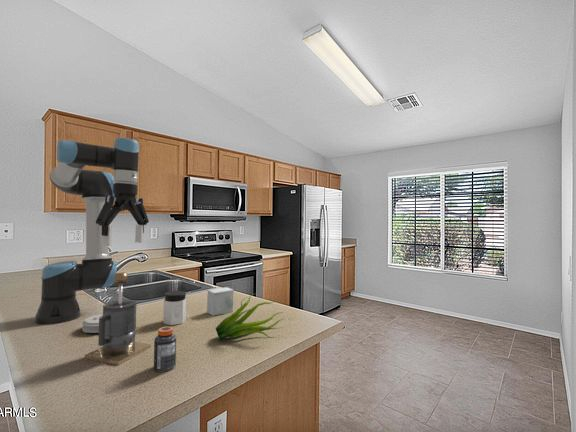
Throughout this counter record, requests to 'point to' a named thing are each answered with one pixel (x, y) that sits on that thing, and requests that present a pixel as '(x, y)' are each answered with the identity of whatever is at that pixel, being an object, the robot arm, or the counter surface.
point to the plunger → (120, 283)
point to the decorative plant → (239, 328)
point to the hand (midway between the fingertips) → (123, 244)
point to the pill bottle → (165, 350)
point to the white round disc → (91, 324)
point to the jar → (174, 308)
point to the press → (117, 334)
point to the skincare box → (220, 301)
